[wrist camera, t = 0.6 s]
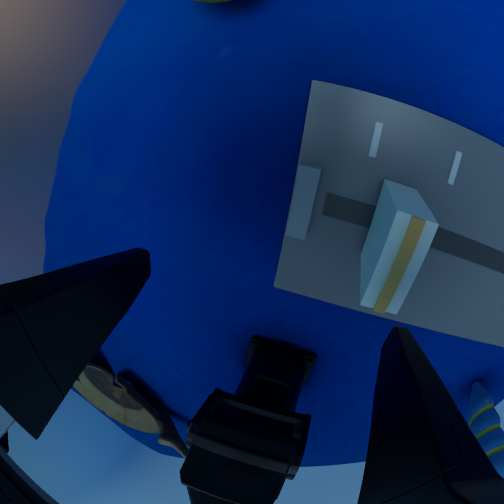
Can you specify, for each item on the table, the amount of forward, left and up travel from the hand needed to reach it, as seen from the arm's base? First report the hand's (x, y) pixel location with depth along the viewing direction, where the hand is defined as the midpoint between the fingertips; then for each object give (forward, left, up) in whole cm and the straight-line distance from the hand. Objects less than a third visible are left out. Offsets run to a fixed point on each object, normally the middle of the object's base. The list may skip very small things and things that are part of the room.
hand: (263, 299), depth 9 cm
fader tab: (0, -5, -10) cm, 11 cm away
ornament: (-14, -23, -12) cm, 30 cm away
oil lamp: (-44, +23, -12) cm, 51 cm away
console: (0, -11, -12) cm, 16 cm away
